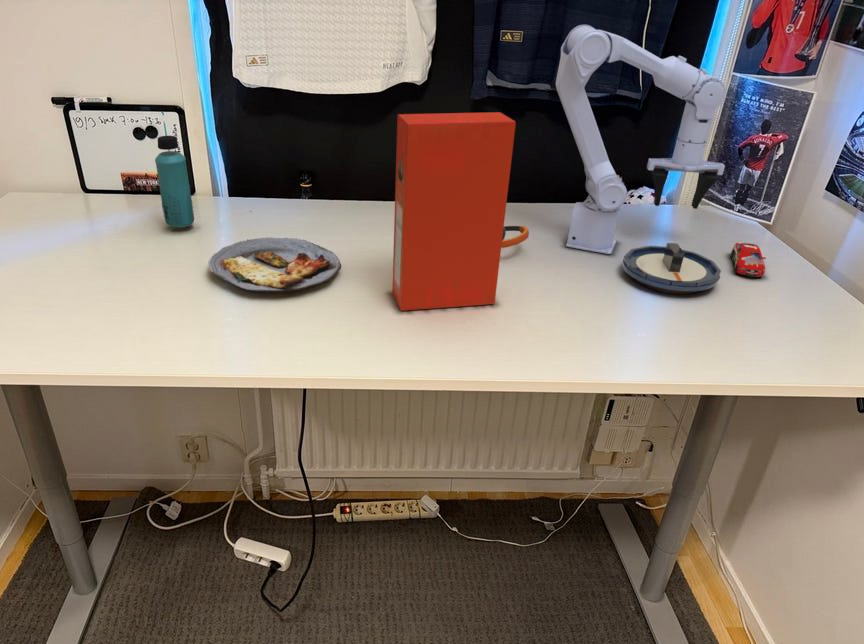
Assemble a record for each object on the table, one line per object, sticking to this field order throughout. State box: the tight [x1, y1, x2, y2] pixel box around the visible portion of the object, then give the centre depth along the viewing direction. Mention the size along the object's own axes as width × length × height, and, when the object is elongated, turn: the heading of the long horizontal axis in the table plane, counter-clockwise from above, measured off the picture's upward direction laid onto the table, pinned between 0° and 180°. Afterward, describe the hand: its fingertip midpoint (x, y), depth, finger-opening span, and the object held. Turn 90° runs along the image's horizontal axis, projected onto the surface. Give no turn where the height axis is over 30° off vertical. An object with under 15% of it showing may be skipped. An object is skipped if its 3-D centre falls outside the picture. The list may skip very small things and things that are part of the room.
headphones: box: [501, 225, 530, 249], centre depth 145 cm, size 17×5×20 cm
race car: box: [730, 241, 767, 278], centre depth 139 cm, size 13×5×4 cm, turn 161°
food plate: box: [208, 237, 342, 293], centre depth 132 cm, size 25×23×4 cm
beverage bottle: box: [154, 135, 196, 228], centre depth 146 cm, size 6×7×20 cm
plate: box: [621, 242, 722, 292], centre depth 132 cm, size 18×18×5 cm
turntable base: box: [635, 279, 698, 295], centre depth 134 cm, size 13×13×2 cm
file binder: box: [391, 111, 517, 312], centre depth 116 cm, size 8×17×32 cm, turn 101°
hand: (675, 205), depth 143 cm, fingers open, 7 cm apart
